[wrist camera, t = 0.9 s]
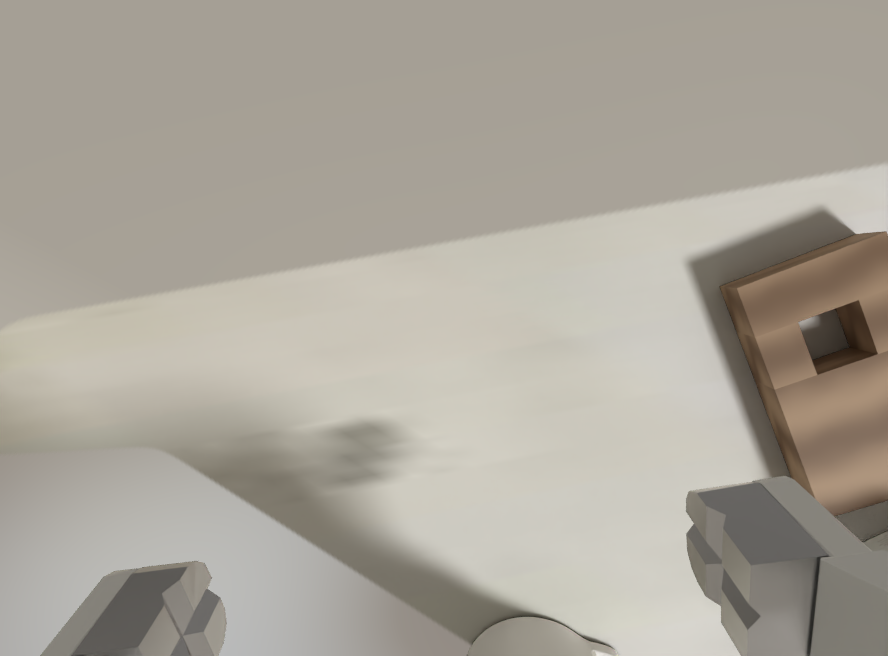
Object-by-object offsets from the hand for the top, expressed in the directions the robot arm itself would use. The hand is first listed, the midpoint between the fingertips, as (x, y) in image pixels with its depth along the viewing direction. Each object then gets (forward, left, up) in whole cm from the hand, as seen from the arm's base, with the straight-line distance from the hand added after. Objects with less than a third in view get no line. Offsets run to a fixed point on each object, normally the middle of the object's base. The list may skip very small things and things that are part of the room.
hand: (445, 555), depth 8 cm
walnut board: (-16, -26, -41) cm, 51 cm away
